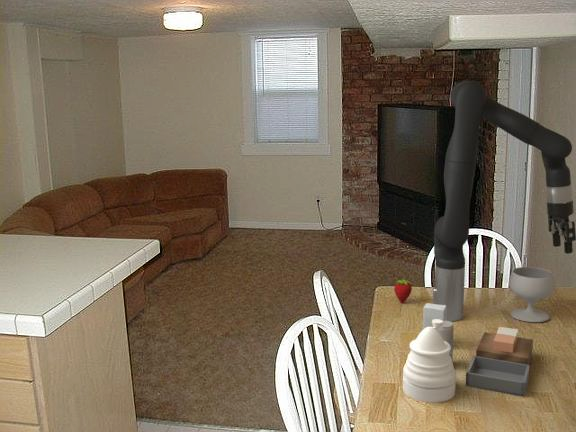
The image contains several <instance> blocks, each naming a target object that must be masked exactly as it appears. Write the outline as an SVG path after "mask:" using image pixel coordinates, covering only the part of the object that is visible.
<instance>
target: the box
mask: <svg viewBox="0 0 576 432" xmlns="http://www.w3.org/2000/svg"><path fill="white" fill-rule="evenodd" d="M530 367H531V364H530V365H527V364H521V363H515V362H509V361H503V360H497V359H491V358H485V357H479V356H476V355H473V357H472V359H471V362H470V363H469V365H468V368H467V371H466V372H465V387H468V388H469V387H470V388H476V389H481V390H486V391H492V392H497V393H502V394H508V395H512V396H519V397H523V398H524V397H525V396H526V391H527V387H528V383H529V380H530V379H529V378H530Z"/></svg>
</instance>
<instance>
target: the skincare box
mask: <svg viewBox="0 0 576 432" xmlns="http://www.w3.org/2000/svg"><path fill="white" fill-rule="evenodd" d="M446 310H447V306H446V305H438V304H433V303H429V302H428V303H427V302H426V303H425V305H424V306H423V310H422V311H423V312H422V314H423V317H422V318H423V319H422V320H423V321H422V322H423V323H422V330H423V329H425V328H426V327H433V324H432V320H434V319H440V320H446Z"/></svg>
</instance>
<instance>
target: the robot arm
mask: <svg viewBox="0 0 576 432" xmlns="http://www.w3.org/2000/svg"><path fill="white" fill-rule="evenodd" d="M450 102H451V104H452V106H454V108H455V109H454V110H455V111H454V113H455V116H454V125H453V131H452V134H451V137H450V140H449V142H448V146H447V149H446V154H445V158H444V159H445V160H444V161H445V162H444V166H443V167H444V170H443V183H444V185H443V187H444V192H445V210H444V215H443V216H441V217H440V218H438V220H437V221H436V223H435V226H434V231H433V247H434V248H433V254H434V260H435V266H434V267H435V268H434V269H435V270H434V273H435V274H434V288H433V289H432V304H438V305H446V306H447V310H446V320H447V321H450V322H456V321H461V320H462V319H463V318H464V308H465V307H464V306H465V305H464V303H465V276H466V275H465V273H466V272H465V271H466V258H465V255H464V248H463V247H464V245H465V244H466V242H467V241H468V239H469V236H470V207H471V206H470V205H471V199H472V194H473V186H474V181H475V180H474V179H475V174H476V167H477V166H476V165H477V157H478V156H477V155H478V146H479V132H480V131H479V129H480V126H481V125H480V123H481V121H482V119H483V120H486V121H487V122H489V123H491V124H492V125H495V126H496V127H498V128H499V129H501V130H502V131H504V132H505V133H507V134H509V135H510V136H512V137H514V138H515V139H517V140H519V141H521V142H522V143H524V144H526V145H529V146H532V147H534V148H536V149H538V150H540V154H541V158H542V163H543V167H544V169H545V183H546V184H545V186H546V189H545V190H546V191H545V196H546V197H545V198H546V199H545V201H546V212H547V213H546V214H547V218H548V219H547V221H548V224H547V225H548V232H549V233H550V234H551V236H552V246H553V247H555V248H557V247H561V245H562V243H561V242H562V239H563V246H564V247H563V249H564V254H567V255H568V254H572V253H573V250H574V249H573V242H574V241H576V224H575V221H574V220H572V221H570V216H571V215H573V214H575V213H574V211H575V209H574V198H573V197H574V196H573V193H574V192H573V189H572V178H571V170H570V168H569V166H568V165H567V162H566V158H569V156H570V155H571V153H572V151H573V146H572V143H571V140H570V139H569V138H568V137H566V136H564V135H563V134H560V133H558V132H556V131H554V130H551V129H549V128H547V127H545V126H543V124H540V122H537V121H536V120H534V119H533V118H531V117H528V116H527V115H525V114H523V113H521V112H519V111H517V110H515V109H512V108H510V107H508V106H506V105H504V104H502V103H500V102H498V101H496V100H494V99H493V98H491V97H490V96H488V95H487V94H486V91H485V88H484V86H483V85H482V84H481V83H480V82H478V81H476V80H463V81H460V82H458V83H456V84H455V85H454V86H453V88H451V91H450ZM561 237H562V239H561Z"/></svg>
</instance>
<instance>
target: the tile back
mask: <svg viewBox="0 0 576 432" xmlns="http://www.w3.org/2000/svg"><path fill="white" fill-rule="evenodd" d="M496 334H500V335H507V336H513V337H516V339H515V344H516V341H517V338H518V337H519V336H518V335H519V329H518V328H511V327H502V326H498V329H497V332H496Z"/></svg>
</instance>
